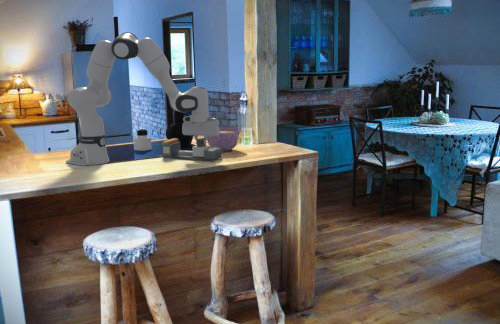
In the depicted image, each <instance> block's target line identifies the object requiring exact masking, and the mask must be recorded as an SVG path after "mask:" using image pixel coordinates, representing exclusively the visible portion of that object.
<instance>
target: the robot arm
mask: <svg viewBox="0 0 500 324" xmlns="http://www.w3.org/2000/svg"><path fill="white" fill-rule="evenodd" d="M136 57H138V59H140V61H141V62H142V64H143V65H144V67H145V68H146V69H147V71H148V72H149V73H150V74H151V75H152V76H153V77H154V78H155V79H156V80H157V81H158V83H159V85H161V87H162V89H163V91H164V92H165V94H166V95H167V99H168V103H169V106H170V108H171V109H172V110H173V111H179V112H183V113H184V114H185V113H190V112H191V114H189V115H188V116H184V118H183V121H184V122H183V125H182V133H183V135H194V136H193V139H194V140H195V142H196V145H197V139H199V138H198V137H200V136H203V138H205V140H204V141H202V142H203V144H206V145H207V142H208V140H207V139H208V136H218V135H219V134H220V130H219V128H220V120H219V119H217V118H215V117H210V112H209V94H208V90H207V89H206V88H205V87H201V86H192V87H190V89H188V90H186V91H185V92H182V91H180V90H179V89H178V87H177V85H176V84H175V82H174V80H173V79H172V77H171V75H170V67H171V65H170V62H169V60H168V58H167V57H166V55H165V53H164V52H163V50H162V49H161V47H160V46H159V45H158V44H157V42H156V41H154V39H152V38H151V37H143V38H141V39H139V38H138V37H137V36H136V35H135V34H134V33H132V32H129V31H127V32H122V33H121V34H119V35H117V36H116V38H114V40H113V41H110V40H106V39H101V40H98V42H97V43H95V46H94V48H93V50H92V53H91V55H90V58H89V61H88V65H87V67H86V71H85V74H86V76H87V78H88V80H89V83H88V85H87V86H80V87H76V88H73V89H71V90H70V91H69V92H68V94H67V102H68V104H69V106H70V107H71V108H72V109H74V111H75V112H76V114H77V116H78V118H79V124H80V129H81V136H78V137H77V139H78V140H79V143H78V144H77V145H76V146H75V147H74V148H72V150H71V151H70V153H69V154H70V155H69V156H70V158H69V159H67V160H66V161H65V164H72V165H77V166H82V167H83V166H84V167H85V166H94V165H95V166H96V165H103V164H107V163H109V162H110V158H109V155H108V150H107V145H106V144H107V143H106V142H107V139H106V134H105V127H104V119H103V118H102V117H101V116H100V115H99V114H98V112H97V109H96V108H102V107H104V106H106V105H108V104H110V102H112V101H111V100H112V93H111V91H110V89H109V79H110V76H111V72H112V69H113V67H114V63H115V61H116V59H118V60H121V61H122V60H123V61H124V60H125V61H126V60H129V59H133V58H136Z"/></svg>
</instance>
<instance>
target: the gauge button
mask: <svg viewBox="0 0 500 324" xmlns="http://www.w3.org/2000/svg"><path fill="white" fill-rule="evenodd" d="M176 141H178V139H175V138H173V139H170V140H168V139H167V140H163V141H162V144H169V143H173V142H176Z"/></svg>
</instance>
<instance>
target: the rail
mask: <svg viewBox="0 0 500 324" xmlns="http://www.w3.org/2000/svg"><path fill="white" fill-rule="evenodd" d="M161 146H162V158H163V159H175V160H176V159H177V160H186V161H187V160H188V161H199V162H200V161H201V162H212V163H213V162H215V161H218V160H221V159H222V152H221V148H216V147H212V148H209V149H207V150H204V157H198V156H193V150H183V149H182V150H181V148H182V147H180V142H178V141H176V142H173V143H169V144H163V143H162V145H161Z"/></svg>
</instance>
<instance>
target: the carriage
mask: <svg viewBox="0 0 500 324" xmlns="http://www.w3.org/2000/svg"><path fill="white" fill-rule="evenodd" d="M204 140H205V138H204V137H200V138H198V139H197V144H196V145H194V146H192V147H191V149H192V150H191V151H193V156H198V157H204V150H207V149H209V148H211V146H210V145H209V144H207V143H206V144H203V142H202V141H204Z"/></svg>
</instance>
